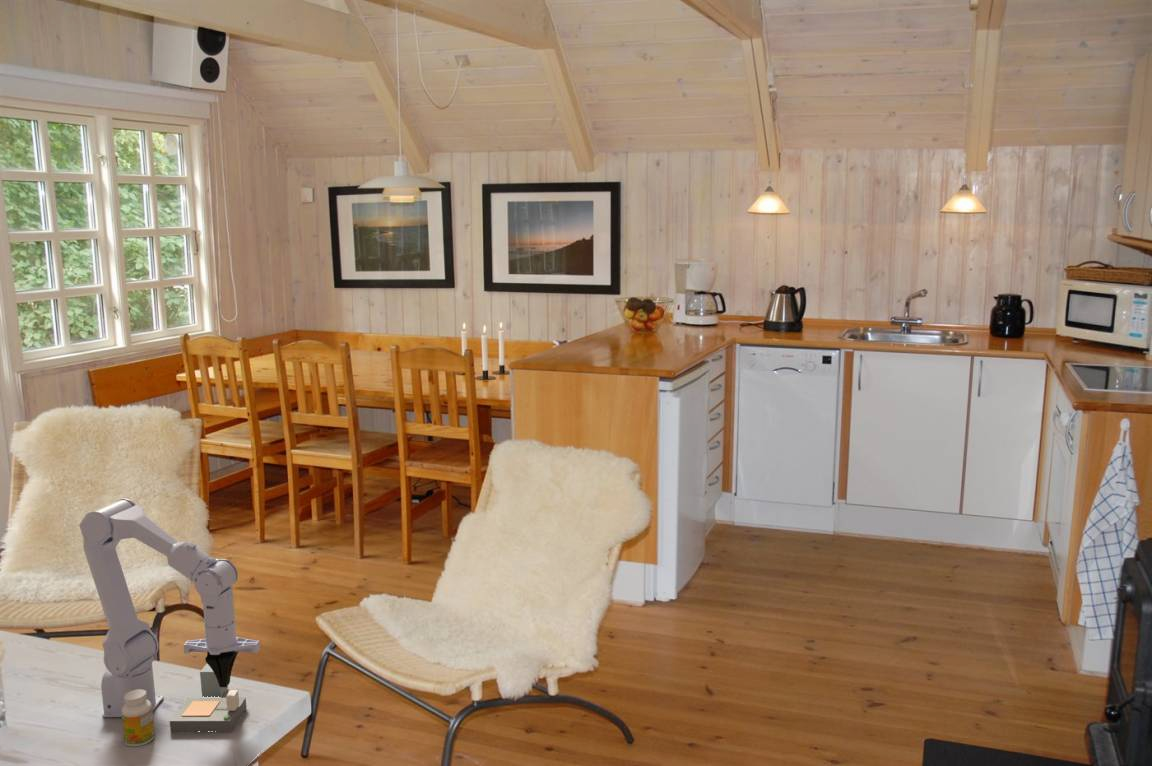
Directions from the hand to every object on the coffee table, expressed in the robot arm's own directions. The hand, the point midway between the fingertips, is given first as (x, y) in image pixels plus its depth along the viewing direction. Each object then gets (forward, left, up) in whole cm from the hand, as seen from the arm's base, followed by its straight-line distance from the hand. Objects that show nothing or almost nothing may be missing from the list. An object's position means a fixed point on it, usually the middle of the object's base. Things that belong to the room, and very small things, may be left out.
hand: (224, 684), depth 193 cm
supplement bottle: (-15, -7, -8) cm, 18 cm away
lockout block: (-7, +11, -8) cm, 15 cm away
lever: (+1, 0, -5) cm, 5 cm away
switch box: (-4, 0, -8) cm, 9 cm away
